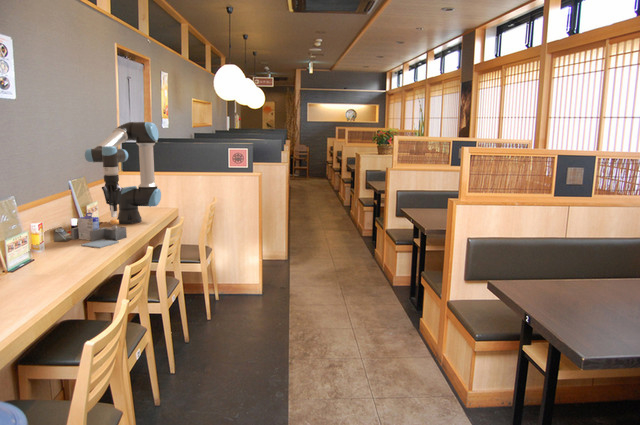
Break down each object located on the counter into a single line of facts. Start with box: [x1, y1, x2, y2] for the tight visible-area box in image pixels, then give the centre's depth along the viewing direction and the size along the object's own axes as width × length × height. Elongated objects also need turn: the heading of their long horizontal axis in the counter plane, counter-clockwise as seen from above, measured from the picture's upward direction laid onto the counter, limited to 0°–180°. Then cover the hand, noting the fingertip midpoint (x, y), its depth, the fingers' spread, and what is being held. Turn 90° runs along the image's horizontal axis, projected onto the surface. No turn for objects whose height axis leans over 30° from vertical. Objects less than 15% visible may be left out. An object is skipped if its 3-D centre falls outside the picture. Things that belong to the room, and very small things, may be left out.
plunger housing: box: [104, 225, 128, 241], centre depth 263 cm, size 8×8×6 cm
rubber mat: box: [80, 239, 120, 249], centre depth 251 cm, size 13×13×1 cm
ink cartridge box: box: [77, 212, 100, 241], centre depth 262 cm, size 10×6×14 cm, turn 78°
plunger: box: [109, 218, 119, 229], centre depth 263 cm, size 4×4×6 cm
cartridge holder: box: [70, 226, 107, 242], centre depth 263 cm, size 10×16×6 cm, turn 69°
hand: (114, 216), depth 262 cm, fingers closed
